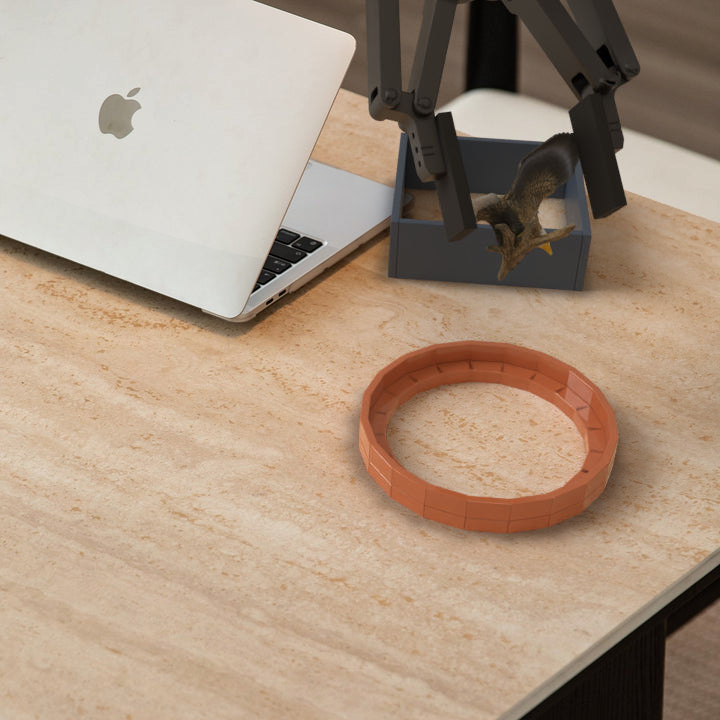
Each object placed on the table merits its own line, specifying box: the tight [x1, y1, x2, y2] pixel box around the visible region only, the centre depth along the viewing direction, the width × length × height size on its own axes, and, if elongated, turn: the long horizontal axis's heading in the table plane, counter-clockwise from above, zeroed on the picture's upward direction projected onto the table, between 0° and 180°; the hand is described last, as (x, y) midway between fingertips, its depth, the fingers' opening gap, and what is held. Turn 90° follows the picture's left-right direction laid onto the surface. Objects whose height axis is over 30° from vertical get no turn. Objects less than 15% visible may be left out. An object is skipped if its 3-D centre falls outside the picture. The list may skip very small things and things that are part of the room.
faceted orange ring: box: [358, 339, 620, 534], centre depth 76 cm, size 15×15×3 cm
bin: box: [387, 132, 593, 292], centre depth 95 cm, size 14×14×6 cm
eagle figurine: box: [472, 131, 579, 281], centre depth 71 cm, size 8×7×9 cm
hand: (537, 223), depth 68 cm, fingers closed on eagle figurine, 8 cm apart
